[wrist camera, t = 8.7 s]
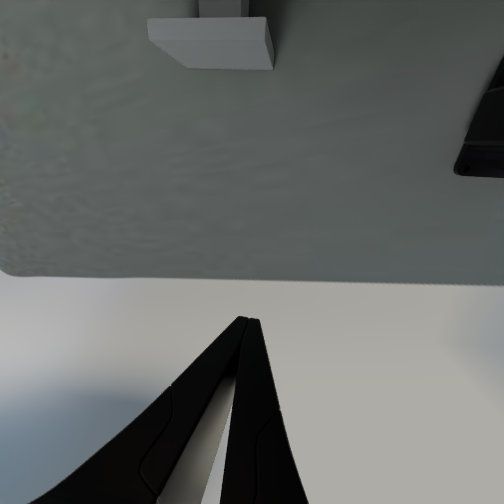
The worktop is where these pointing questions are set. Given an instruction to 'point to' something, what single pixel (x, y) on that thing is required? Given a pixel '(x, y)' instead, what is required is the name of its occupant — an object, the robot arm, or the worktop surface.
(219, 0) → the tray
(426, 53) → the worktop surface
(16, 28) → the worktop surface
